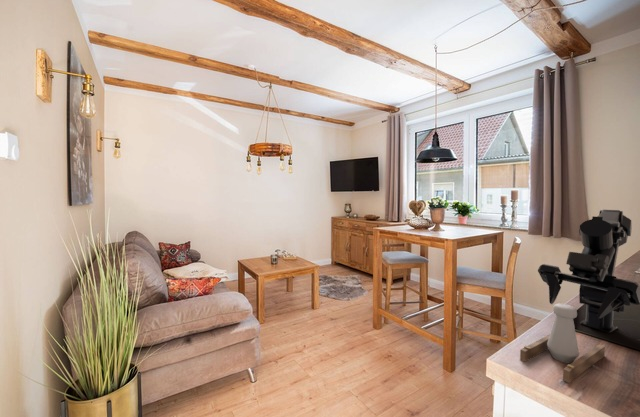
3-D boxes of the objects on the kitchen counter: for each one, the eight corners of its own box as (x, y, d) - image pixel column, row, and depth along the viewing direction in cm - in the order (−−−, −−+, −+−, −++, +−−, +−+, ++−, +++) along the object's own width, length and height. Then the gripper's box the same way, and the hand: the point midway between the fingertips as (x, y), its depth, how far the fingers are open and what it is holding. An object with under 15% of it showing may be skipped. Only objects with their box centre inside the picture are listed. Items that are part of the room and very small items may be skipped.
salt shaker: (584, 367, 64) (588, 311, 63) (556, 364, 65) (559, 309, 64) (567, 352, 70) (570, 301, 69) (541, 350, 71) (544, 299, 70)
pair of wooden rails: (558, 338, 76) (558, 328, 76) (604, 356, 68) (605, 345, 68) (520, 359, 67) (520, 348, 66) (568, 382, 59) (569, 370, 58)
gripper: (542, 235, 78) (520, 279, 74) (642, 247, 62) (621, 305, 57) (554, 259, 83) (533, 303, 78) (650, 276, 66) (631, 333, 62)
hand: (573, 309), depth 69 cm, fingers open, 9 cm apart
